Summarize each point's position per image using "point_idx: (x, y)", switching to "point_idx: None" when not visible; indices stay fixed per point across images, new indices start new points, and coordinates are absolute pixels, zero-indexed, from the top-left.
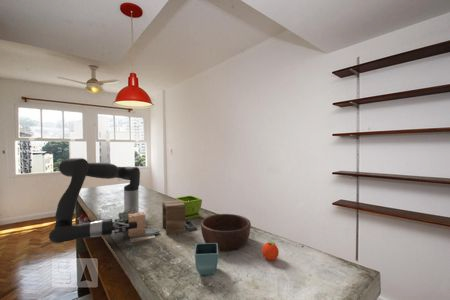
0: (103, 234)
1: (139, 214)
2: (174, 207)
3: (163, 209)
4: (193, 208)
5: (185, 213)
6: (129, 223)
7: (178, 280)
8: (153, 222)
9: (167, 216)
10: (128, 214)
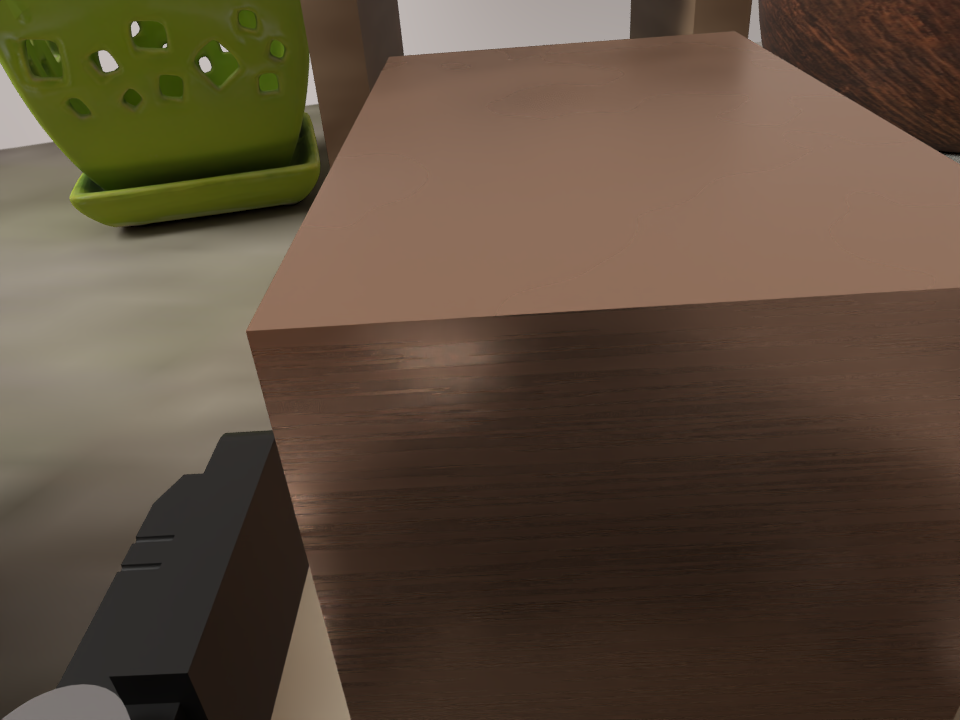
0: None
1: (648, 83)
2: None
3: (359, 7)
4: (171, 94)
5: (303, 111)
6: (949, 633)
7: None
8: (15, 439)
9: (746, 13)
10: (374, 318)
